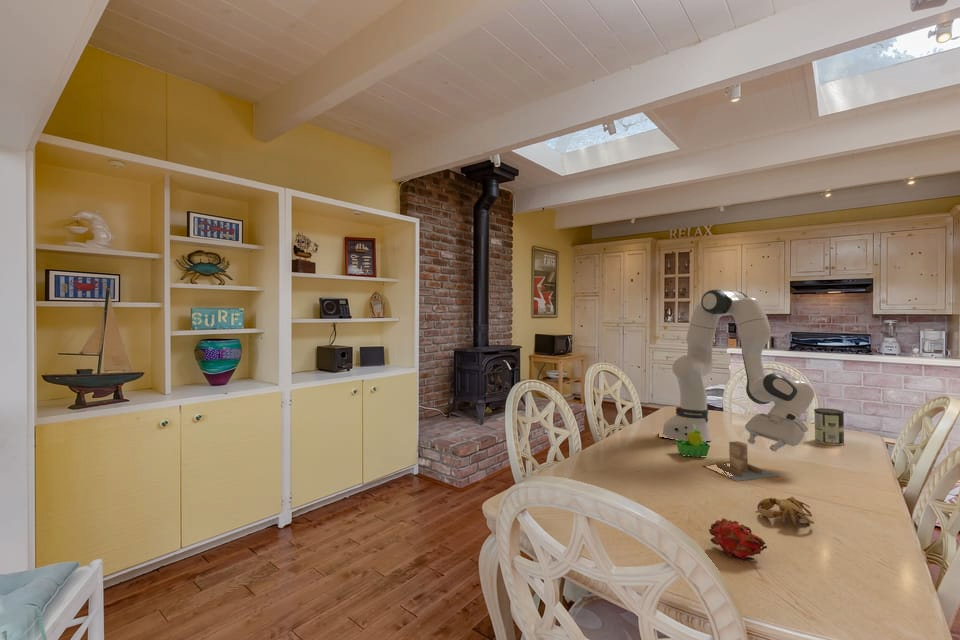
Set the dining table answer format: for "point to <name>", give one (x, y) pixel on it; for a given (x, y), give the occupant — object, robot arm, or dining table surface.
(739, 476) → the mat
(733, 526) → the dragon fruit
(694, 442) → the fruit basket
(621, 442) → the dining table surface
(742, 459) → the card block
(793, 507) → the crab model
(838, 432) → the coffee can
